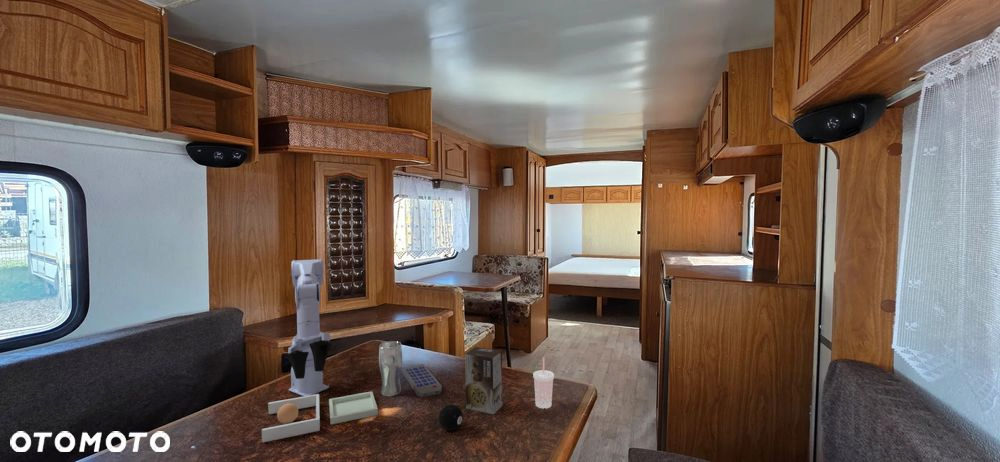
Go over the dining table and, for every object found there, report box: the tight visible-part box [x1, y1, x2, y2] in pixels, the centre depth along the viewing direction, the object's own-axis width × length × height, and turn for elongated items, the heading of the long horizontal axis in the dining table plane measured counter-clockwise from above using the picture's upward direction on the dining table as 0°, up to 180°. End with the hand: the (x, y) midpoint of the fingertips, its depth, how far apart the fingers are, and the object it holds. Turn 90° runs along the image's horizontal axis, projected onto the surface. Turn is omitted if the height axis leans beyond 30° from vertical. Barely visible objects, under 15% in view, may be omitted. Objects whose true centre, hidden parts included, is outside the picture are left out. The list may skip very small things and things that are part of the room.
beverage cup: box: [532, 356, 555, 409], centre depth 116 cm, size 6×6×14 cm
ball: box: [276, 403, 299, 425], centre depth 107 cm, size 5×5×5 cm
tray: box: [328, 390, 379, 425], centre depth 113 cm, size 12×12×2 cm
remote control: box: [401, 363, 443, 398], centre depth 133 cm, size 8×23×2 cm, turn 26°
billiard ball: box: [438, 404, 464, 431], centre depth 103 cm, size 6×6×6 cm
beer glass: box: [378, 340, 403, 398], centre depth 124 cm, size 7×7×15 cm
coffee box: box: [464, 346, 503, 415], centre depth 115 cm, size 9×6×16 cm
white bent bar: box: [261, 393, 321, 444], centre depth 107 cm, size 13×16×3 cm
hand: (309, 374), depth 107 cm, fingers open, 7 cm apart
